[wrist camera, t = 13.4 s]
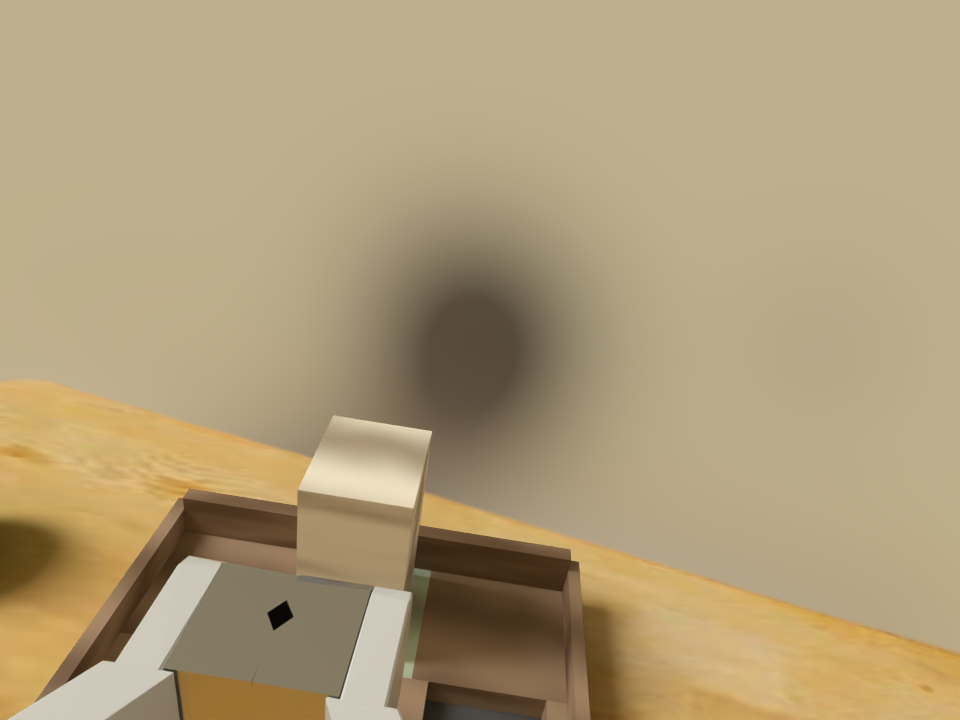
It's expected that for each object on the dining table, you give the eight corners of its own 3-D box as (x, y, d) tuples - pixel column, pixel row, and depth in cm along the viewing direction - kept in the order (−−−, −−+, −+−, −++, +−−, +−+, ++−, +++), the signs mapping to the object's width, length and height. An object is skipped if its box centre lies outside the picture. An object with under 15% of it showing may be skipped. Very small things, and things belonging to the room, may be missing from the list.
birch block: (394, 662, 41) (413, 508, 35) (294, 646, 41) (297, 489, 35) (413, 574, 47) (431, 431, 41) (326, 560, 47) (333, 415, 41)
